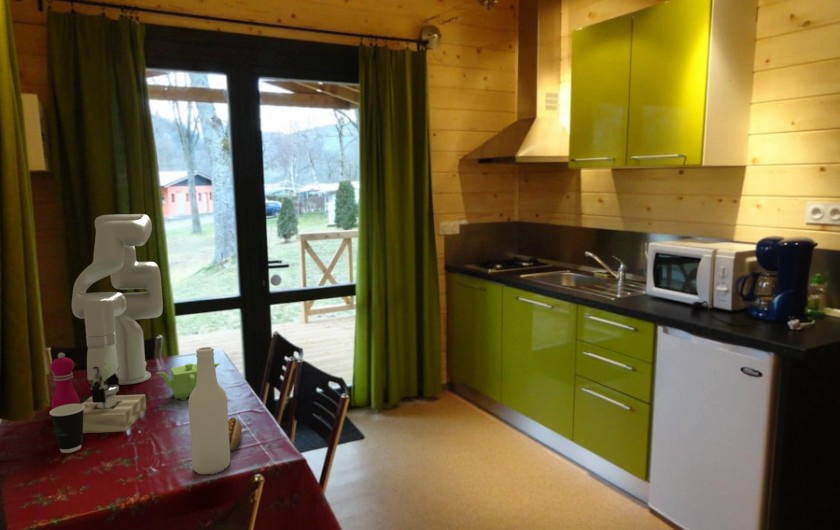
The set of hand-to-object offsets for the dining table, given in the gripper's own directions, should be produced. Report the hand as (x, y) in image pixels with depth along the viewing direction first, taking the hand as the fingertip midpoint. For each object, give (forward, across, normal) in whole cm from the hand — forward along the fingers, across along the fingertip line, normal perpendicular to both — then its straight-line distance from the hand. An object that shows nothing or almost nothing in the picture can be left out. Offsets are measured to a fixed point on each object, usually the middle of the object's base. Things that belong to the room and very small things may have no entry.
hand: (106, 395), depth 170 cm
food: (+8, +19, +40) cm, 45 cm away
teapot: (+8, -20, +18) cm, 28 cm away
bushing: (+8, 0, 0) cm, 8 cm away
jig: (+8, 0, 0) cm, 8 cm away
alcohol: (+7, +33, +38) cm, 51 cm away
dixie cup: (+8, +18, -2) cm, 20 cm away
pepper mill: (+8, -5, -14) cm, 17 cm away
